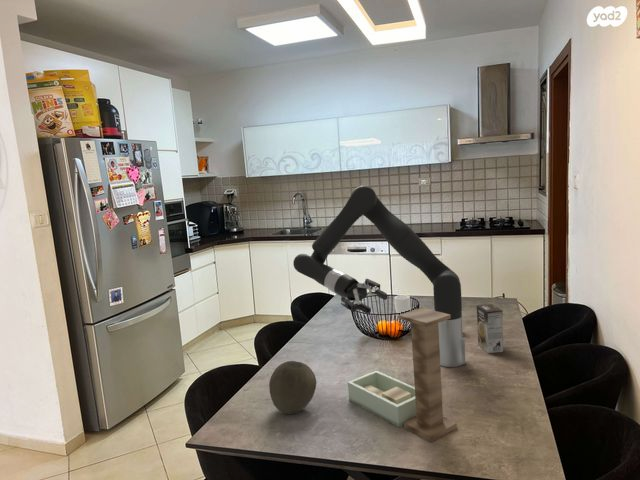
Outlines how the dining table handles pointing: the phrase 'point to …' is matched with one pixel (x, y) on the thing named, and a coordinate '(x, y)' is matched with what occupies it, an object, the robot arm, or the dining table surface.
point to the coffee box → (490, 328)
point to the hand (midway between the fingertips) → (378, 304)
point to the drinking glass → (402, 303)
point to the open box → (378, 403)
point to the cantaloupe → (292, 386)
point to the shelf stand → (427, 375)
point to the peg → (391, 394)
